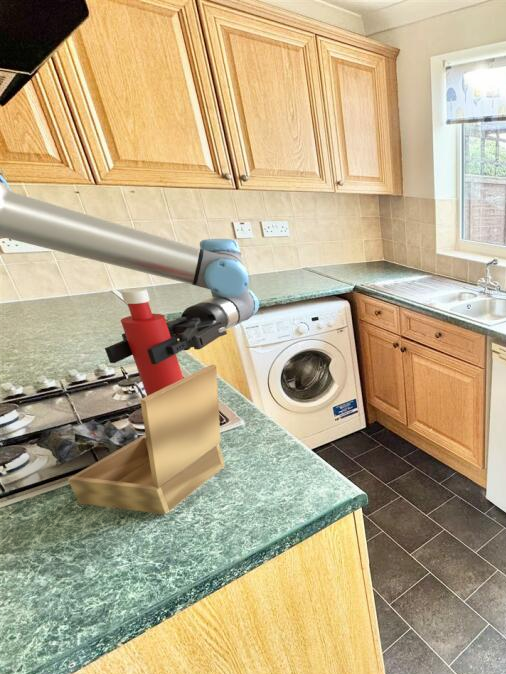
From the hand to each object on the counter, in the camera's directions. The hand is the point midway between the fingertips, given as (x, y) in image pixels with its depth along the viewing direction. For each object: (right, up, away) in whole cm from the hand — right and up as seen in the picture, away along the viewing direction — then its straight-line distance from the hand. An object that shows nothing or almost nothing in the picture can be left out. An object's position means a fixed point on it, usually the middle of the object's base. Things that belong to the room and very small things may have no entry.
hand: (131, 356), depth 72 cm
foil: (-14, -19, +11) cm, 27 cm away
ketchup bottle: (-1, -8, +9) cm, 12 cm away
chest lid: (+11, -11, -2) cm, 16 cm away
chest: (+1, -23, +4) cm, 24 cm away
